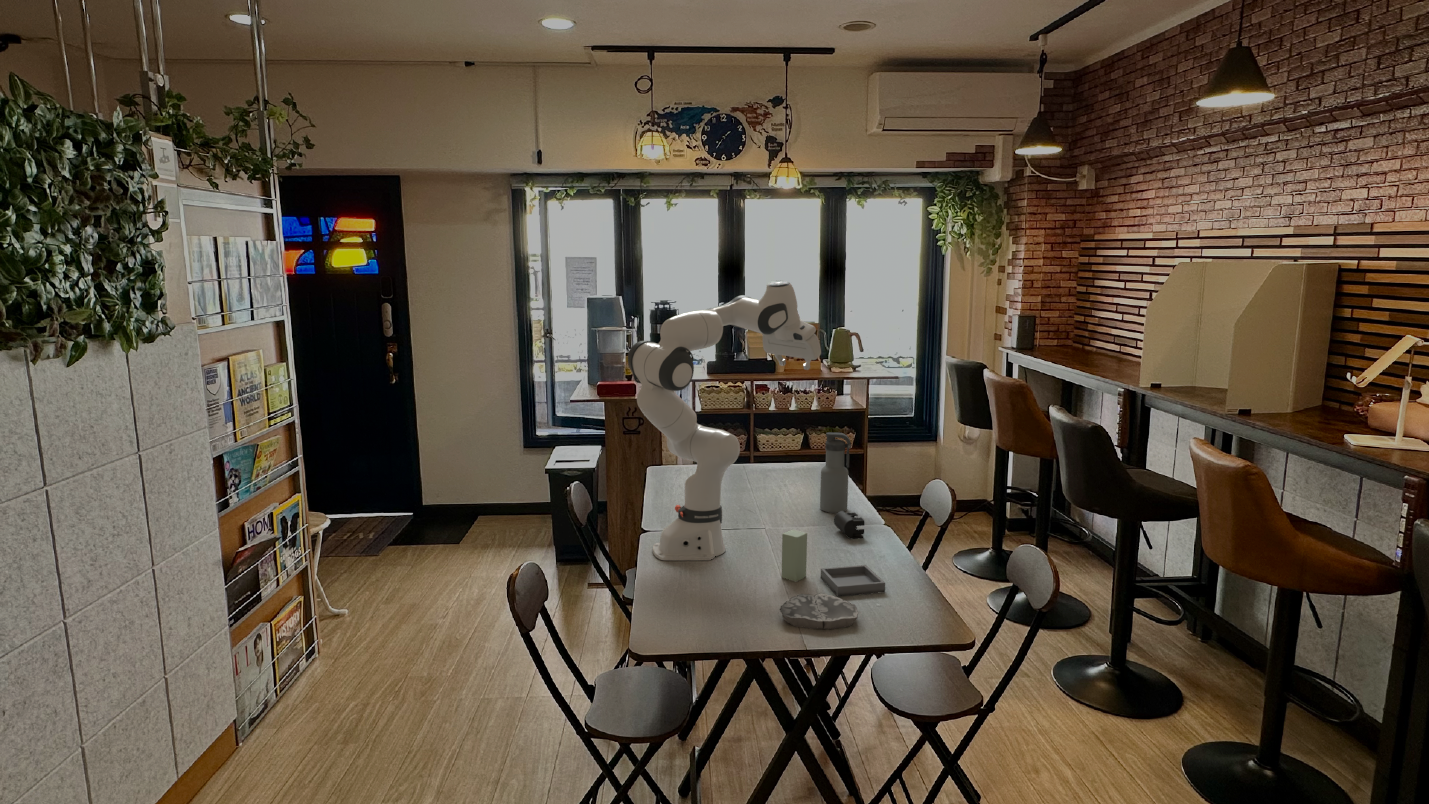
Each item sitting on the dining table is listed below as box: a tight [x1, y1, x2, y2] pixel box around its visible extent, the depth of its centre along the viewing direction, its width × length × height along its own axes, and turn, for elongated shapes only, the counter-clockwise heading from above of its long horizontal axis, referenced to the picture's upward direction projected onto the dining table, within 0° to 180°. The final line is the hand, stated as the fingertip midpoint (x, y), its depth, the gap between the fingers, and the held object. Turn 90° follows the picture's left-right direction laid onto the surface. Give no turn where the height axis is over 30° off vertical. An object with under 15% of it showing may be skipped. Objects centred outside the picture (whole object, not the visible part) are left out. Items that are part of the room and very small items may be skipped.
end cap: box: [833, 511, 866, 540], centre depth 276 cm, size 10×7×7 cm
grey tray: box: [820, 564, 886, 598], centre depth 234 cm, size 14×14×3 cm
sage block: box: [781, 528, 808, 583], centre depth 239 cm, size 5×5×13 cm
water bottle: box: [819, 431, 852, 514], centre depth 302 cm, size 10×10×28 cm
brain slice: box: [779, 593, 859, 630], centre depth 213 cm, size 20×17×3 cm
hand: (794, 366), depth 271 cm, fingers open, 8 cm apart
